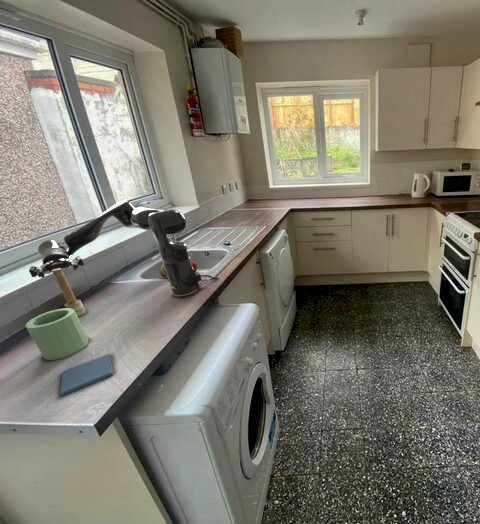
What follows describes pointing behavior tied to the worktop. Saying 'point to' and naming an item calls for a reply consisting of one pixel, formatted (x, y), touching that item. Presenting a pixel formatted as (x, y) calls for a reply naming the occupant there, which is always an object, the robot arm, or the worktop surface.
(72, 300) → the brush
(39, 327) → the green pot
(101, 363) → the mat
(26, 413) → the worktop surface
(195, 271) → the strawberry
